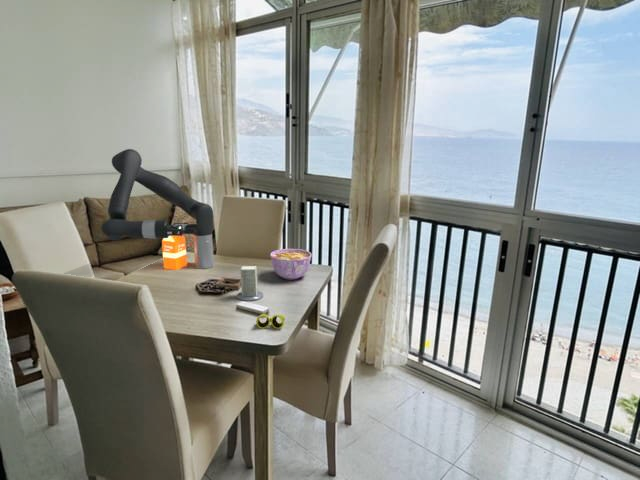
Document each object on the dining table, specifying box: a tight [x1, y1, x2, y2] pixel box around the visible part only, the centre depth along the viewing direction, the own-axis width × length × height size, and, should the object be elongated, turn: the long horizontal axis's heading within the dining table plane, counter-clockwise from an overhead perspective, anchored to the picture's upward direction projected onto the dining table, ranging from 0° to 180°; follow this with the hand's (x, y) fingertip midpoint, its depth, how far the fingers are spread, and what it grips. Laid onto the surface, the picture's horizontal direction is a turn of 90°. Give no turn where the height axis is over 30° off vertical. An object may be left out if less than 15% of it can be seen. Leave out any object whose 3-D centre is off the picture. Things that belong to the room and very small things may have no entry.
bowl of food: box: [269, 248, 313, 280], centre depth 191 cm, size 20×20×12 cm
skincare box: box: [240, 265, 259, 296], centre depth 166 cm, size 6×4×12 cm
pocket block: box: [214, 277, 242, 291], centre depth 179 cm, size 9×11×2 cm
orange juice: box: [161, 235, 188, 271], centre depth 202 cm, size 8×9×20 cm
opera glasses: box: [255, 313, 286, 330], centre depth 141 cm, size 10×5×5 cm, turn 90°
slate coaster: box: [236, 290, 264, 302], centre depth 168 cm, size 11×11×1 cm
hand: (196, 228), depth 165 cm, fingers open, 8 cm apart
